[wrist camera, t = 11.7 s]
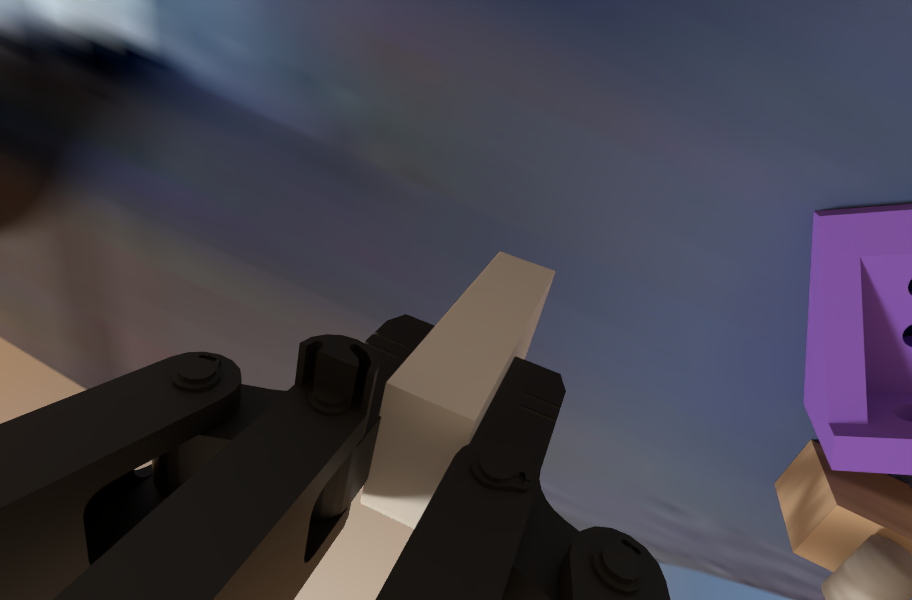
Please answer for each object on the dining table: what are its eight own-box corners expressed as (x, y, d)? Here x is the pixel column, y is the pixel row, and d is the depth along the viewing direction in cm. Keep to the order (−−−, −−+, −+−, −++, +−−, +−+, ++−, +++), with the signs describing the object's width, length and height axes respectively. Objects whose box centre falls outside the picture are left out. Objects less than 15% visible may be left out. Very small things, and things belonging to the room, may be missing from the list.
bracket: (939, 404, 32) (1002, 481, 26) (802, 400, 35) (831, 470, 29) (969, 198, 29) (1051, 232, 23) (812, 209, 31) (848, 243, 25)
